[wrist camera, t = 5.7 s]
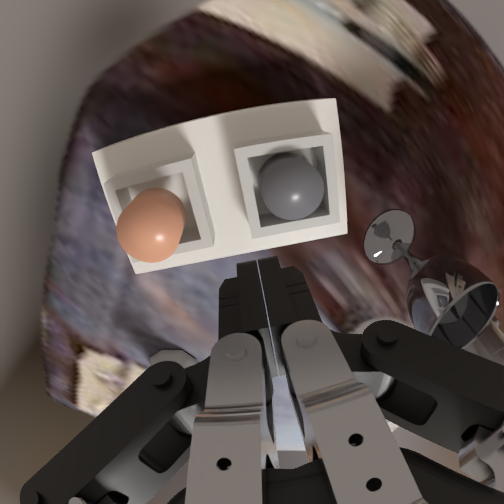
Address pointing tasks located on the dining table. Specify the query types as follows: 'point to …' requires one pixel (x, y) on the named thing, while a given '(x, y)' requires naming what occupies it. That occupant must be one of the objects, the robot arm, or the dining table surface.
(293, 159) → the charcoal button
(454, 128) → the dining table surface
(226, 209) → the console
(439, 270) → the wine glass
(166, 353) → the flask
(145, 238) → the terracotta button
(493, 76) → the dining table surface
